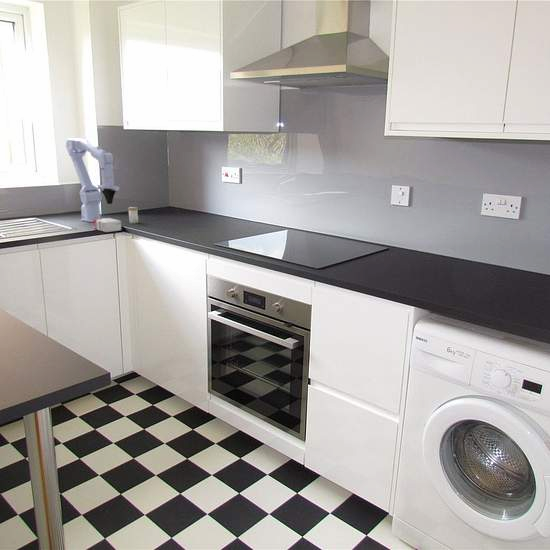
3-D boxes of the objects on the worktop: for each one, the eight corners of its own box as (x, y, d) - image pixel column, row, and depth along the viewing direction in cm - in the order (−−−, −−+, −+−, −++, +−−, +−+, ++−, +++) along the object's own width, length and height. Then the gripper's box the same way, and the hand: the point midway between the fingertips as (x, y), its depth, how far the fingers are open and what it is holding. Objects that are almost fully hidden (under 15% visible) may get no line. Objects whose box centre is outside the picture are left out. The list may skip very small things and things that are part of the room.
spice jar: (127, 222, 279) (126, 207, 277) (134, 221, 283) (133, 206, 281) (133, 223, 276) (132, 208, 274) (140, 222, 280) (139, 207, 278)
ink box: (94, 229, 260) (105, 232, 252) (93, 219, 259) (104, 222, 251) (110, 227, 266) (121, 230, 258) (109, 217, 264) (121, 220, 256)
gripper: (92, 177, 270) (94, 203, 274) (110, 178, 263) (112, 205, 266) (103, 176, 276) (105, 202, 280) (122, 177, 268) (123, 204, 272)
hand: (109, 203), depth 273 cm, fingers closed
